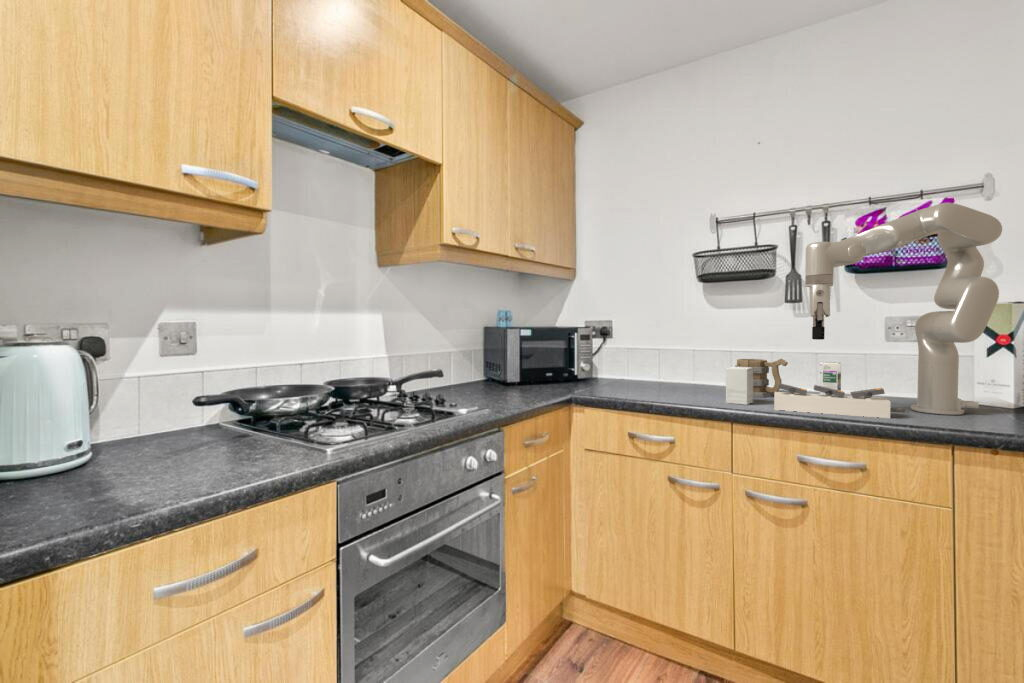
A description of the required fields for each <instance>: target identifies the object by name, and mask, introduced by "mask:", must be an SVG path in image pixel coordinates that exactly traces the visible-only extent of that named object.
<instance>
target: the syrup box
mask: <svg viewBox="0 0 1024 683" xmlns="http://www.w3.org/2000/svg"><path fill="white" fill-rule="evenodd" d="M841 381H842V364H841V362H836V361H833V362H832V361H820V362H819V386H822V387H826V388H831V389H835V390H840V391H842V388H841V387H842V382H841ZM819 394H824V395H826V394H825V393H824V392H820V391H819Z"/></svg>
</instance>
